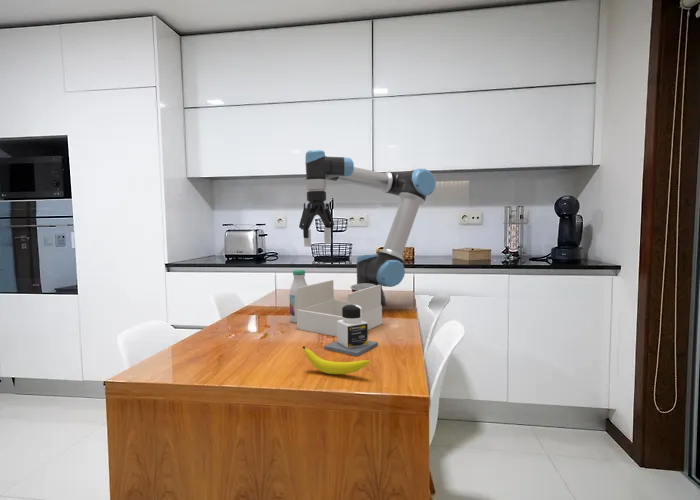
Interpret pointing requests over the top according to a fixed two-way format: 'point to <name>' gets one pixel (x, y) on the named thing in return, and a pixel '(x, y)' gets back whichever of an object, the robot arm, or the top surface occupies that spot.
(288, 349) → the top surface
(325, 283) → the carton
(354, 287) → the plastic cup
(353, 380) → the top surface
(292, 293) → the milk bottle
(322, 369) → the banana
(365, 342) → the medicine bottle
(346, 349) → the mat
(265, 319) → the top surface
